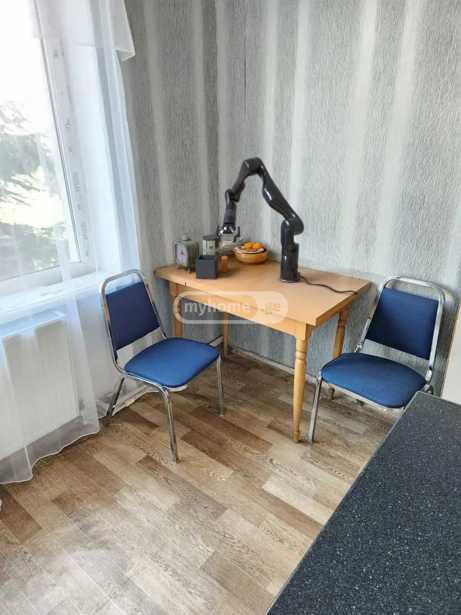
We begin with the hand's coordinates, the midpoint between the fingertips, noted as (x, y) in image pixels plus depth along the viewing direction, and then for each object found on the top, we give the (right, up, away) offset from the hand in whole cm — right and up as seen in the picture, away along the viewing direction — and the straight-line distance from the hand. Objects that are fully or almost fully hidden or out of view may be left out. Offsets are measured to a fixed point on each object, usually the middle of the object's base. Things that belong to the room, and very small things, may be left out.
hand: (227, 242), depth 231 cm
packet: (-2, -17, -3) cm, 17 cm away
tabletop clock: (-23, -17, -1) cm, 28 cm away
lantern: (-10, -8, +17) cm, 22 cm away
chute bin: (-11, -21, -11) cm, 26 cm away
